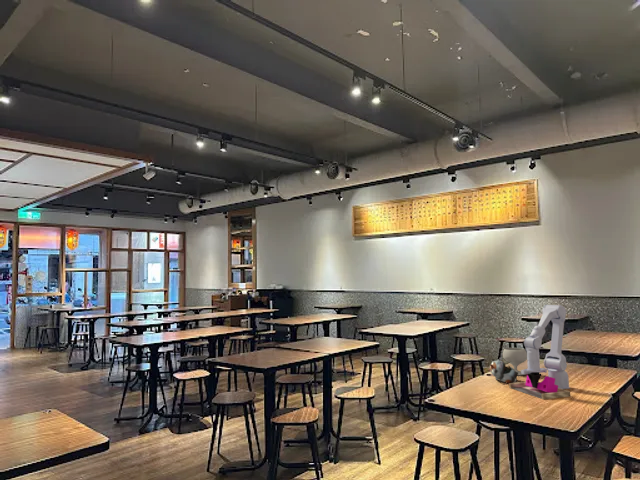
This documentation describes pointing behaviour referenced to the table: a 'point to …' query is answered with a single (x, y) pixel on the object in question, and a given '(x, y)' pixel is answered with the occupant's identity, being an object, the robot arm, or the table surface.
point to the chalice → (515, 357)
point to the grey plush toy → (503, 372)
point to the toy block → (544, 384)
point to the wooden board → (538, 391)
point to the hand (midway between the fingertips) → (534, 387)
